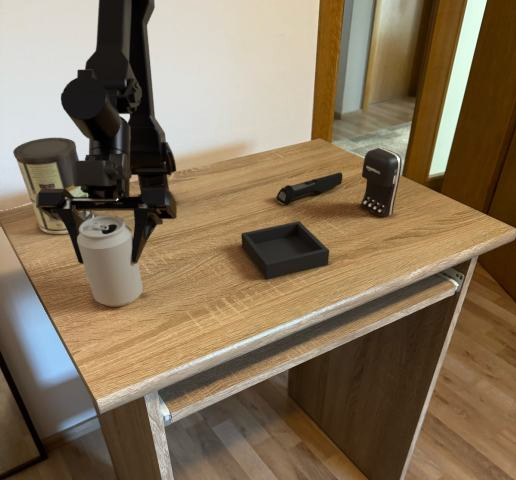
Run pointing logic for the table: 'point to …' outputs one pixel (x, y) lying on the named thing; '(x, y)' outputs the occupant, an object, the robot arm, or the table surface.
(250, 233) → the black square open tray
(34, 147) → the coffee can
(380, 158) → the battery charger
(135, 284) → the can
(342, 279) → the table surface
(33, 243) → the table surface
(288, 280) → the table surface
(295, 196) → the electric trimmer
